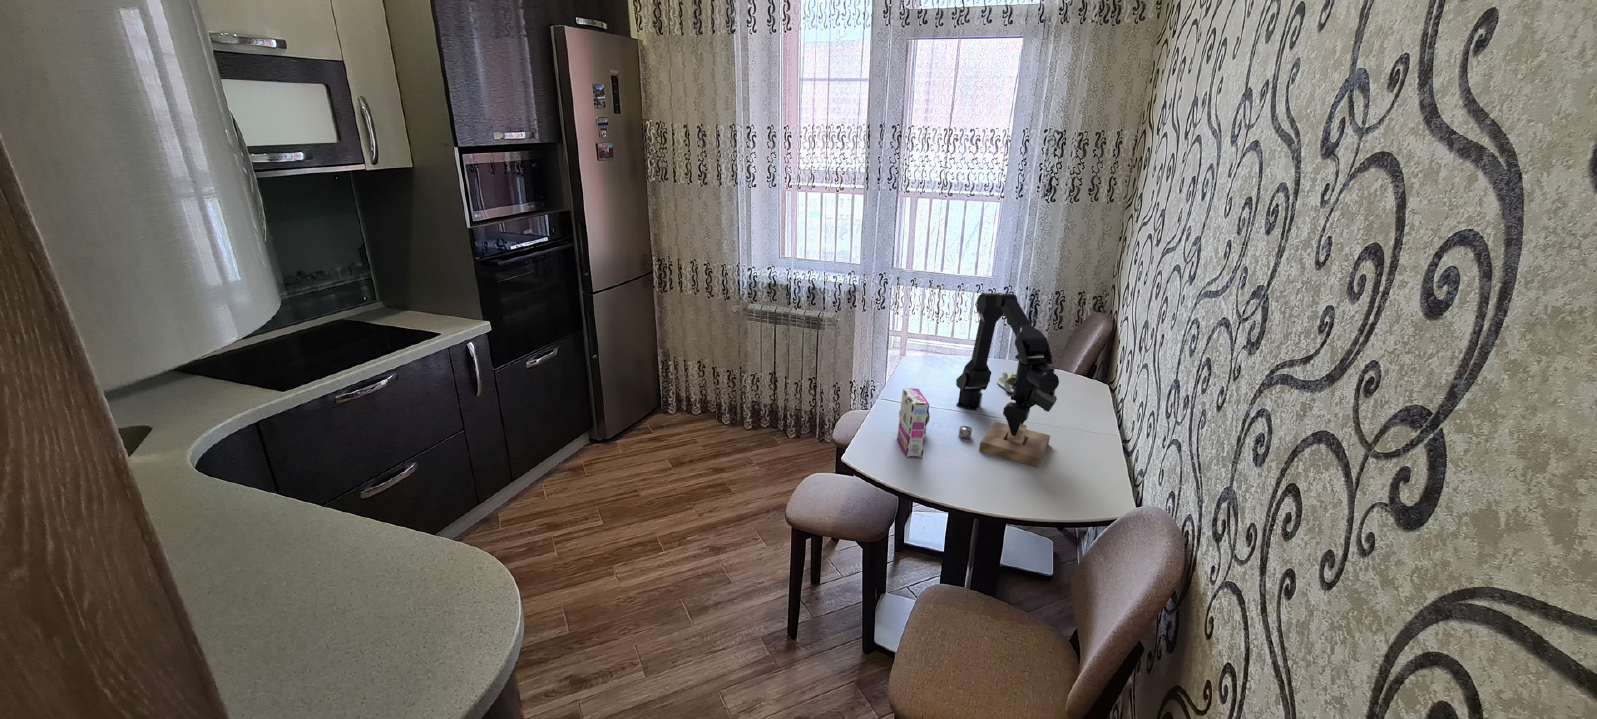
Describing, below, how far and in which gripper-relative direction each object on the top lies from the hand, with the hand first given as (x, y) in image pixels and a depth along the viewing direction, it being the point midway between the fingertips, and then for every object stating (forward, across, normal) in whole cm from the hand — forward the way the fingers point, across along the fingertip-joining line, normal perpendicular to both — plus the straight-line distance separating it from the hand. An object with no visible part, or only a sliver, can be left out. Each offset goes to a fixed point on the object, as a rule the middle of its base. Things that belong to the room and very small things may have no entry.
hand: (1017, 429), depth 176 cm
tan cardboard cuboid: (+6, 0, 0) cm, 6 cm away
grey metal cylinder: (+6, -2, +14) cm, 15 cm away
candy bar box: (+6, -18, +25) cm, 31 cm away
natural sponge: (+6, -8, +28) cm, 30 cm away
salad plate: (+6, +48, +8) cm, 50 cm away
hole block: (+6, 0, 0) cm, 6 cm away
